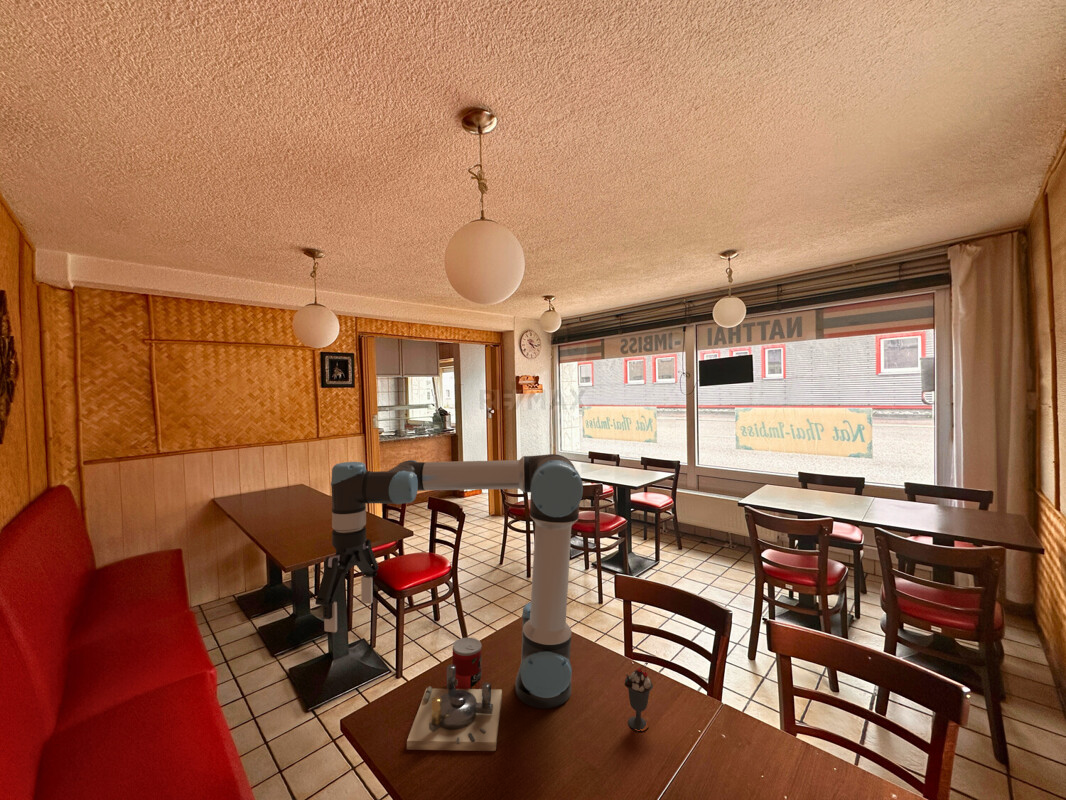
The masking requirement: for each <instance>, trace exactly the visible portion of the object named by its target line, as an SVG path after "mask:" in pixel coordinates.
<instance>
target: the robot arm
mask: <svg viewBox="0 0 1066 800" xmlns="http://www.w3.org/2000/svg"><path fill="white" fill-rule="evenodd" d="M366 467H367V466H366V464H365V463H364V462H362V461H345V462H339V463H336V464H334V466H332V468H331V481H330V486H331V487H330V488H331V489H330V490H331V516H332V517H331V528H332V529H333V530H332V531H331V545H332V546H333V548H334V549H335V555H334V556H327V557H326V558H325V562H324V563H325V564H324V571H323V573H322V577H321V581H320V585H319V588H318V591H317V595H316V599H315V605H317V606H322V608H323V609H322V612H323V613H322V617H323V622H324V624H323V625H324V630H323V631H324V632H327V633H329V632H330V633H337V631H338V602H337V601H336V598H337V596H338V593H339V591H340V589H341V586H342V583H343V581H344V578H345V577H346V574H348V573H349V571H350V569H352V568H353V567H354V566H356V567H357V568H358V569H359V571H360V572H361V573H362V574H363V575H362V576H360V577H361V579H360V581H361V584H360V585H361V586H360V587H361V589H360V590H361V603H364V604H370V605H371V604H373V602H374V601H373V599H374V598H373V597H374V596H373V594H374V593H373V592H374V590H373V586H374V582H373V580H374V577H377V576H378V570H379V565H378V562H377V559H376V556H375V553H374V551H373V549H372V542H371V541H372V540H371V539H367V528H366V525H367V504H385V505H386V504H391V505H392V504H394V505H402V504H411V503H413V502H414V501H415V500H416V499H417V498H416V497H417V495H418V492H419V491H420V492H425V491H463V490H465V491H466V490H468V491H469V490H477V491H479V490H520V491H522V493H525V494H526V493H530V503H529V517H530V519H532V520H533V522H534V524H535V525H534V527H535V528H534V542H533V559H532V576H531V594H530V602H528V603H526V604H525V605H524V606H523V607H522V615H521V617H522V631H521V633H522V634H521V637H522V638H521V658H520V660H521V661H520V665H519V669H518V672H517V674H516V677H515V694H516V696H517V697H518V699H519V700H520V701H521V702H523V703H524V704H526V705H527V706H529V707H531V708H536V709H541V710H542V709H554V708H556V707H560V706H561V705H563V704H564V703H566V702H567V701H568V700H569V698H571V694H572V674H573V668H572V664H571V652H572V651H571V647H572V629H571V626H570V625H569V624H568V623H567V607H568V592H569V591H568V590H569V576H570V575H569V572H570V556H571V541H572V526H573V525H575V523H576V522H578V520H579V519H580V518H579V515H580V503H581V501H582V498H583V493H584V486H583V485H584V484H583V480H582V478H581V475H580V474H579V472H578V470H577V469H576V467H575V465H574V464H573V462H572V461H571V460H570V459H568V457H565V456H563V455H560V454H556V453H551V454H538V455H523V456H522V457H520V459H513V460H511V459H510V460H509V459H507V460H504V459H503V460H501V459H500V460H470V461H469V460H465V461H464V460H462V461H459V460H458V461H426V462H425V461H424V462H423V461H418V460H417V461H416V460H413V459H412V460H411V459H409V460H405V461H402V462H400V463H399V464H397V465H396V466H394V467H392V468H391V469H389V470H387V471H384V470H383V471H370V470H367V468H366Z"/></svg>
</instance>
